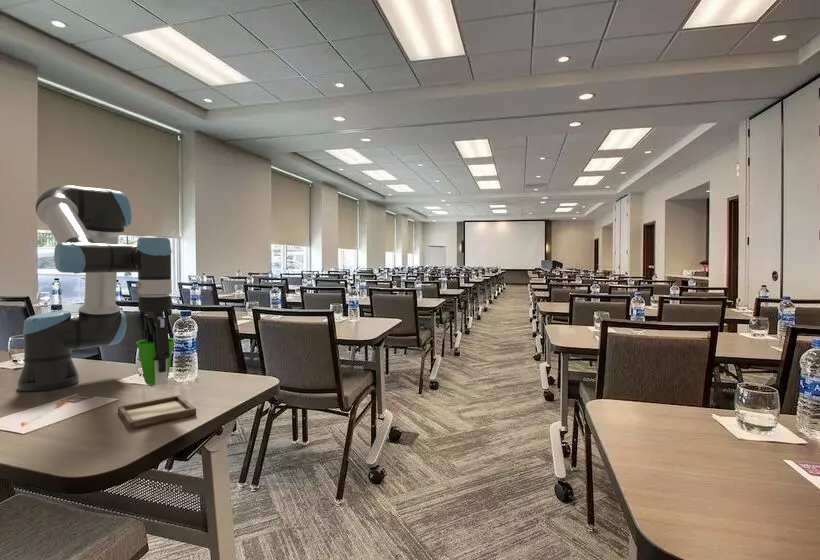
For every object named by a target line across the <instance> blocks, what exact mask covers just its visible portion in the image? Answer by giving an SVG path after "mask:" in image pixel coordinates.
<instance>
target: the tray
mask: <svg viewBox="0 0 820 560" xmlns="http://www.w3.org/2000/svg"><path fill="white" fill-rule="evenodd" d="M117 415H118V416H119V417H120V419H121V420H122V422H123V423H124V425H125V426H126V428H127V429H128V430H129V431H130V432H131V431H135V430H140V429H144V428H149V427H154V426H159V425H161V424H166V423H171V422H175V421H180V420H184V419H189V418H192V417H197V407H195V406H194V405H192V404H191V403H190V402H189V401H188V400H187V399H185V398H184V397H183V396H182V395H180V394H177V395H172V396H167V397H160V398H156V399H150V400H145V401H140V402H135V403H134V402H133V403H130V404H129V403H128V404H124V405H119V406H117Z"/></svg>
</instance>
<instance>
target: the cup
mask: <svg viewBox="0 0 820 560" xmlns="http://www.w3.org/2000/svg"><path fill="white" fill-rule="evenodd" d="M168 338H169V351H170V357H169V358H168V359H167V372H168V376H169V374H170V369H171V368H170V367H171V362H172V355H173V349H174V344H175V342H176V338H174V337H168ZM135 344H136V345H137V349H138V356H139V360H140V363H141V369H142V374H143V379H144V382H145V384H146V385H152V386H153V385H154V386H155V361H153V358H155V357H156V354H155V344H154V342H147V339H145V340H144V339H141V340H137V341H136V342H135ZM161 354H163V353H161Z"/></svg>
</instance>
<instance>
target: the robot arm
mask: <svg viewBox="0 0 820 560" xmlns="http://www.w3.org/2000/svg"><path fill="white" fill-rule="evenodd" d="M35 212H36V214H37V217H38V219H39V220H40V221H41V222H42V223H43V224H45V225H47V227H48V228H49V230H50V232H51V235H52V236H53V238H54V239H55V242H56V245H55V247H54V253H53V255H54V256H53V257H54V258H53V259H54V265H55V269H56V271H58V272H60V273H65V274H66V273H67V274H72V273H73V274H85V280H84V281H85V282H84V283H85V284H84V285H85V287H84V303H83V305H81V306H79V308H78V314H72V312H71V311H69V310H60V311H59V310H58V311H50V312H44V313H39V314H34V315H31V316H29V317H27V318H26V319H25V320H24V321H23V331H22V335H23V349H24V350H23V352H24V353H23V356H24V365H23V367H22V369H21V372H20V375H19V378H18V381H17V391H20V392H21V391H22V392H44V391H51V390H56V389H57V390H58V389H61V388H67V387H69V386H72V385H75V384H77V383H78V382H79V380H80V375H79V372H78V370H77V367H76V366H75V363H74V361H73V357H72V351H73V350H79V349H80V350H81V349H90V348H91V349H92V348H98V347H108V346H111V345H117V344H120V342H122V340H123V339H124V337H125V336H126V335H125V334H126V330H127V315H126V314H125V312H124V311H121V307H120V306H119V305H117V303H116V300H117V299H116V297H117V278H118V277H117V276H118V275H117V274H118V273H137V280H138V281H137V282H138V283H135V288H138V290H137V291H138V295H139V298H138V297H137V299H138V300H137V301H138V305H137V306H138V311H140V312H144V313H147V314H144V315H143V318H144V319H143V320H144V322H143V323H144V324H143V325H144V328H143V329H144V330H143V340H145V339H147V342H154V344H155V354H156V357H155V358H153V361H155V384H154V386H160V385H165V384H166V385H167V384H168V382H169V381H168V379H169V375H168V372H167V359H168V358H169V357H170V351H169V338H170V337H169V329H168V328H169V327H168V326H169V320H168V318H166V317H165V315H164V312H165V311H166V312H168V311H170V310H172V309H173V308H172V307H173V306H172V304H173V302H172V299H173V298H172V297H171V294H172V291H173V290H172V287H173V285H172V282H173V281H172V252H173V251H172V247H171V246H172V245H171V240H170V238H168V237H165V236H139V237H138V238H137V244H123V243H122V244H119V236H121V235H122V234H123V233H124V232H125V228H126V227H129V226H131V224H132V223H131V222H132V208H131V204H130V201H129V198H128V197H127V196H126V194H125V193H124V192H122V191H119V190H113V189H109V188H107V189H106V188H99V187H98V188H96V187H86V186H77V185H59V186H54V187H52V188H49V189H47V190H45V191H44V192H43V193H41V195H39V197H38V198H37V200H36V202H35ZM161 353H163V354H161Z"/></svg>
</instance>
